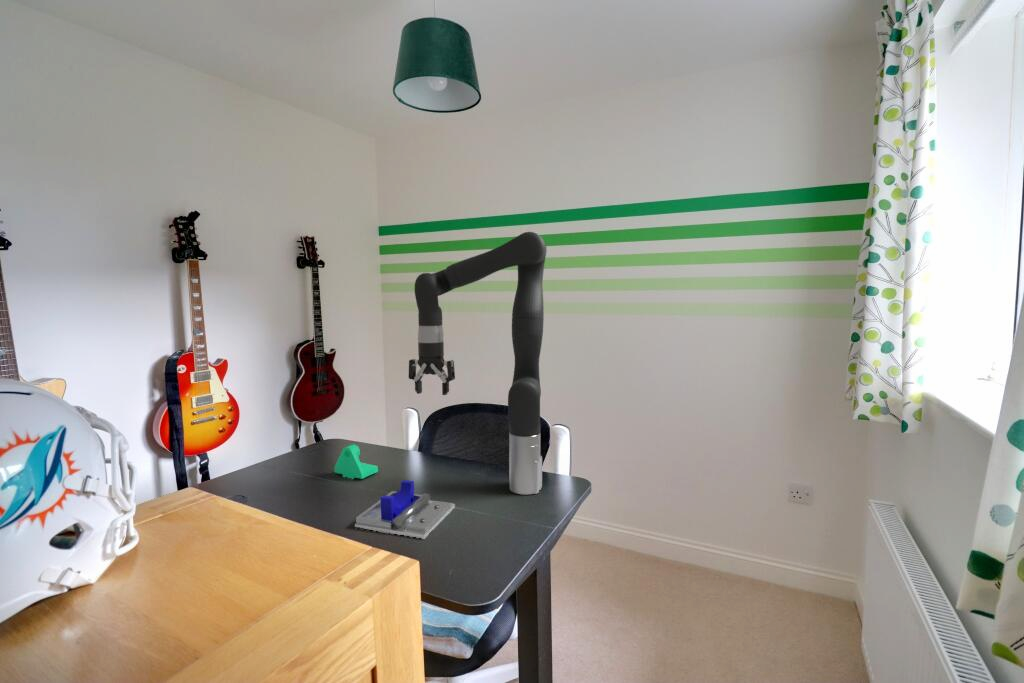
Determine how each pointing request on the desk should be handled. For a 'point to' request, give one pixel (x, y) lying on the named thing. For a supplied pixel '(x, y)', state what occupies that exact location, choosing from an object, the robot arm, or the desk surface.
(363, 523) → the hinge plate
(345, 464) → the camera mount
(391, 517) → the blue stepped long block
